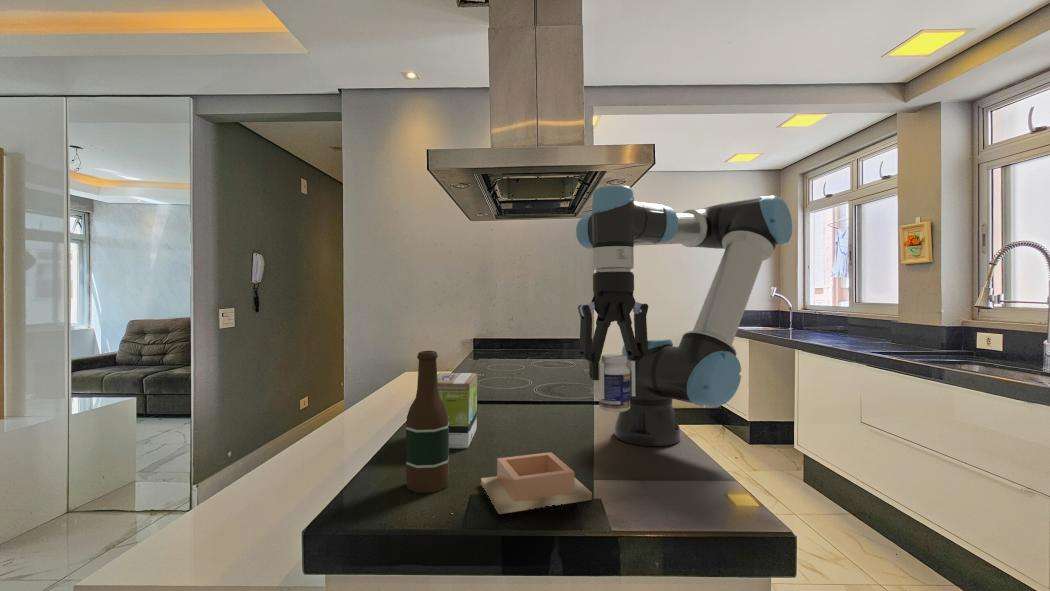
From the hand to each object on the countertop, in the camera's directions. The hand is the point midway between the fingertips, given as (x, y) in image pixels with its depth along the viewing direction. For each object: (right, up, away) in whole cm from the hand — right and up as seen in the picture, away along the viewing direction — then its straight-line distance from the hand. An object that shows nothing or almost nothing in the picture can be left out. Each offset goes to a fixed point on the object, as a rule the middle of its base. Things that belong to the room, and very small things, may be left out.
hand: (614, 396), depth 88 cm
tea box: (-34, -16, +25) cm, 44 cm away
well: (-15, -14, -6) cm, 21 cm away
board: (-15, -15, -6) cm, 22 cm away
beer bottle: (-34, -16, -3) cm, 38 cm away
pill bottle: (0, -3, 0) cm, 3 cm away
